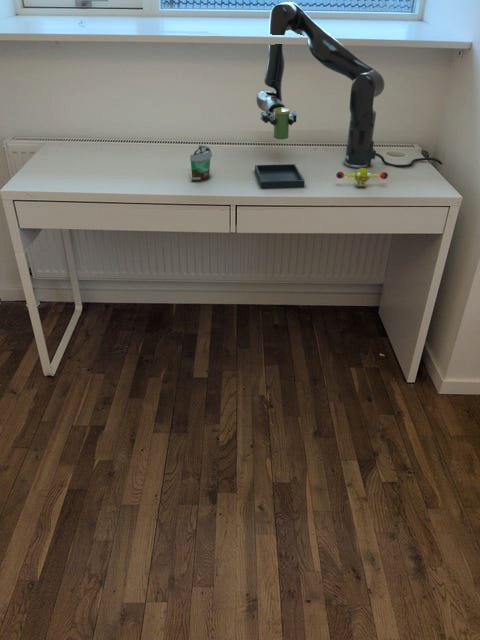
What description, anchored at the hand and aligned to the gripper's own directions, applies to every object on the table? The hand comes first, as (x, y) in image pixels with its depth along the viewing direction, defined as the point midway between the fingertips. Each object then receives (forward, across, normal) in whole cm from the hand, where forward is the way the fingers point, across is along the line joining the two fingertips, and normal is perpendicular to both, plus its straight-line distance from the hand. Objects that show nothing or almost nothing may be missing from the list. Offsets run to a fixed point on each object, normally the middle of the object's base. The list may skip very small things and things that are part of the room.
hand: (282, 122), depth 197 cm
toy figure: (+22, +25, +17) cm, 37 cm away
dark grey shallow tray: (+12, -3, +17) cm, 21 cm away
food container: (+9, -30, +17) cm, 35 cm away
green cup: (-2, 0, +6) cm, 6 cm away
